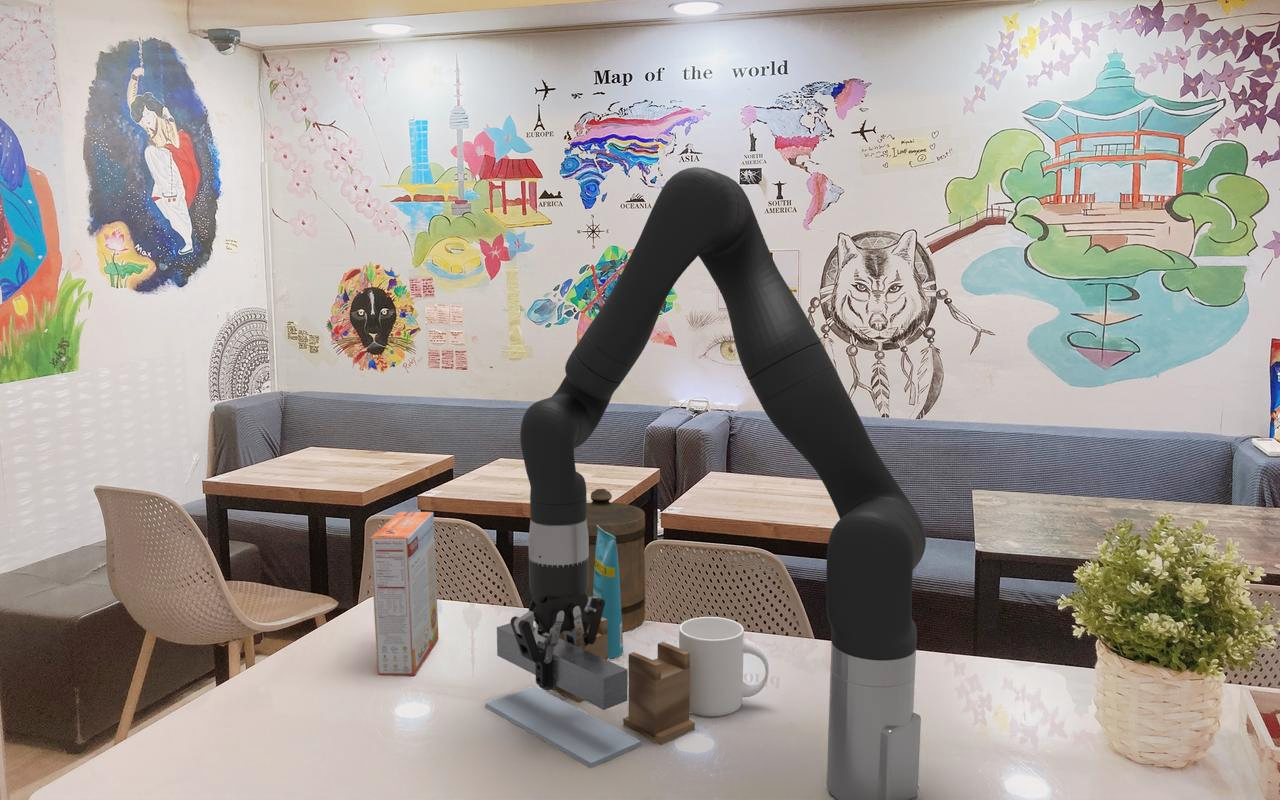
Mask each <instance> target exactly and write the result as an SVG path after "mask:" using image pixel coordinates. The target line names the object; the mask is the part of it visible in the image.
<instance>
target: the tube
mask: <svg viewBox="0 0 1280 800" xmlns="http://www.w3.org/2000/svg"><path fill="white" fill-rule="evenodd" d="M597 527H598V532H597V541H596V552H595V565H594V586H593V596H596V597H599V598H601V599H603V600H604V601H605V606H604V610H603V613H602V617H603V618H605V619H608V660H610V659H615V658H618V657H620V656H621V655H623V653H624V640H623V639H624V638H623V637H624V636H623V635H624V634H623V632H622V613H621V595H620V578H619V564H618V553H617V546H616V540H615V537H614V536H613V535H611V534H609V533H607V532H605V531H603V530H602V529H601V528H600V527H599V526H598V525H597Z"/></svg>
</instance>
